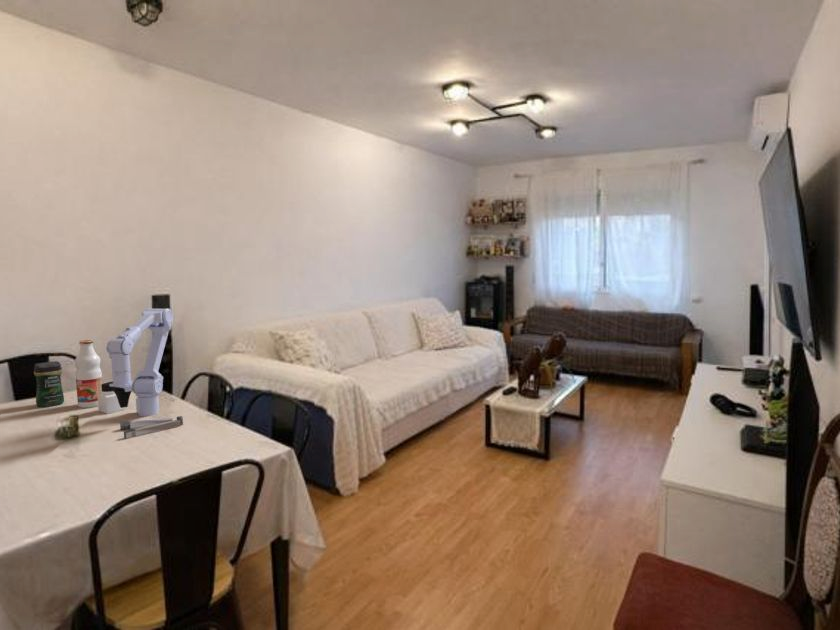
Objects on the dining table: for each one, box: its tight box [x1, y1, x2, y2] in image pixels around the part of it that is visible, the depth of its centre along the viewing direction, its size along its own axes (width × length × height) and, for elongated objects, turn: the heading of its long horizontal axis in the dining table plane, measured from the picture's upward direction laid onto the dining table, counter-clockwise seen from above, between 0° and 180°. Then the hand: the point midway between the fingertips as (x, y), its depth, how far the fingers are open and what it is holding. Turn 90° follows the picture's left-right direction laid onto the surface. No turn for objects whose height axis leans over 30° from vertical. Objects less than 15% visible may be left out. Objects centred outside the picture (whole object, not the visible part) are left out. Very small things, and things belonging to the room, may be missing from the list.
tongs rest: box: [123, 415, 184, 440], centre depth 180 cm, size 18×22×4 cm
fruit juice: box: [74, 339, 104, 409], centre depth 212 cm, size 9×9×28 cm
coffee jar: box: [33, 360, 65, 408], centre depth 213 cm, size 10×8×19 cm
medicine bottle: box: [97, 380, 126, 415], centre depth 206 cm, size 7×7×12 cm
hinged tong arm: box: [119, 417, 174, 431], centre depth 182 cm, size 17×2×2 cm, turn 106°
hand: (123, 407), depth 183 cm, fingers closed
